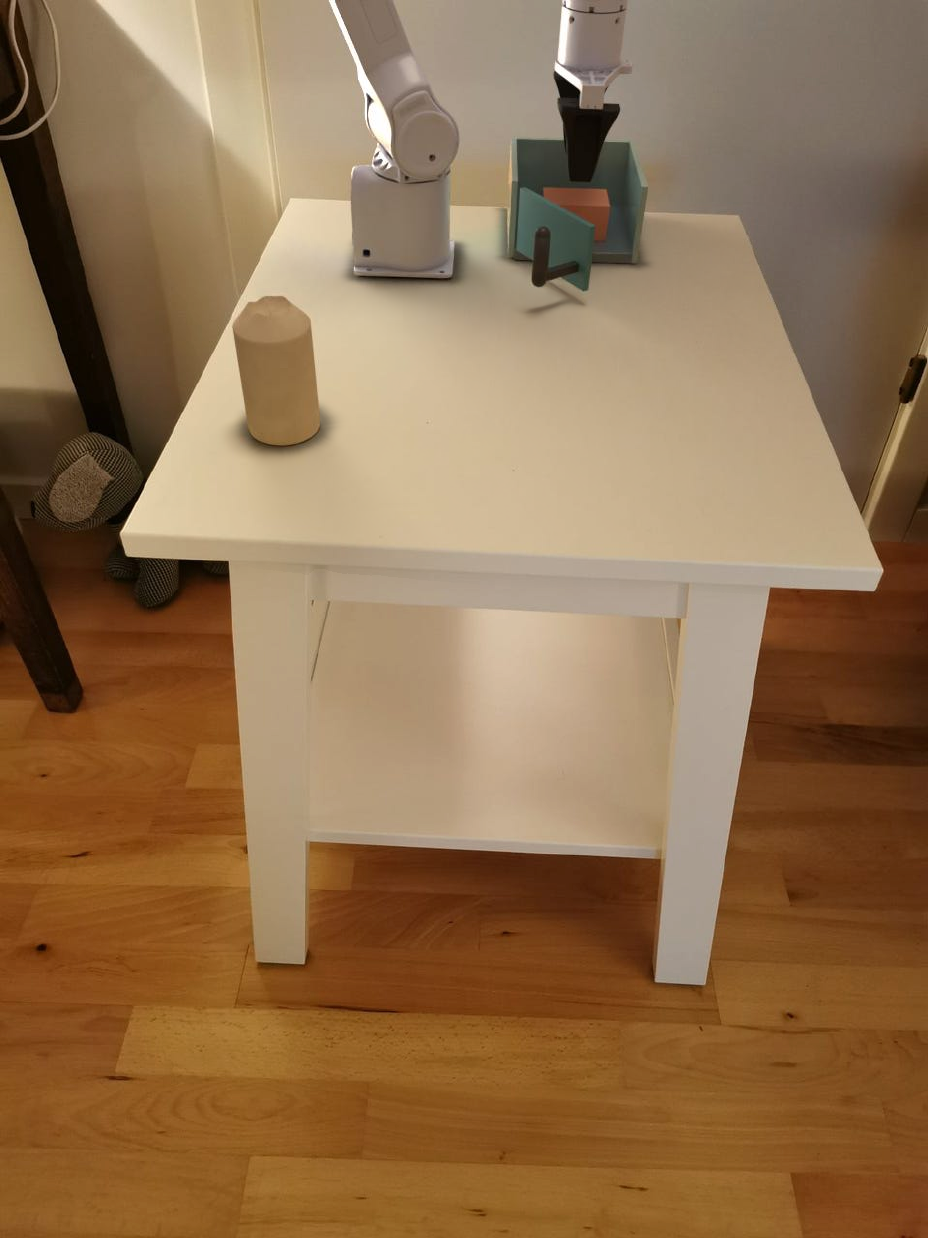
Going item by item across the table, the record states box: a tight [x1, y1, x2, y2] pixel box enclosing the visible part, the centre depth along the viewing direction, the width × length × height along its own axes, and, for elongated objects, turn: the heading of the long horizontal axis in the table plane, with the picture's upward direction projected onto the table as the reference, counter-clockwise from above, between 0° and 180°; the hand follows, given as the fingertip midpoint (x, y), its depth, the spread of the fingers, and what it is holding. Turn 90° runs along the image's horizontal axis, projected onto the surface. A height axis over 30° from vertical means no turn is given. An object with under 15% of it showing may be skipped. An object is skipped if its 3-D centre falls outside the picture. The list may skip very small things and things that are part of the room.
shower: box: [506, 136, 649, 265], centre depth 99 cm, size 13×13×8 cm
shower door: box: [517, 187, 596, 292], centre depth 89 cm, size 10×6×6 cm, turn 34°
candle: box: [231, 295, 321, 446], centre depth 71 cm, size 6×6×10 cm
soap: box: [542, 187, 610, 241], centre depth 99 cm, size 4×6×4 cm
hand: (577, 165), depth 95 cm, fingers open, 7 cm apart
